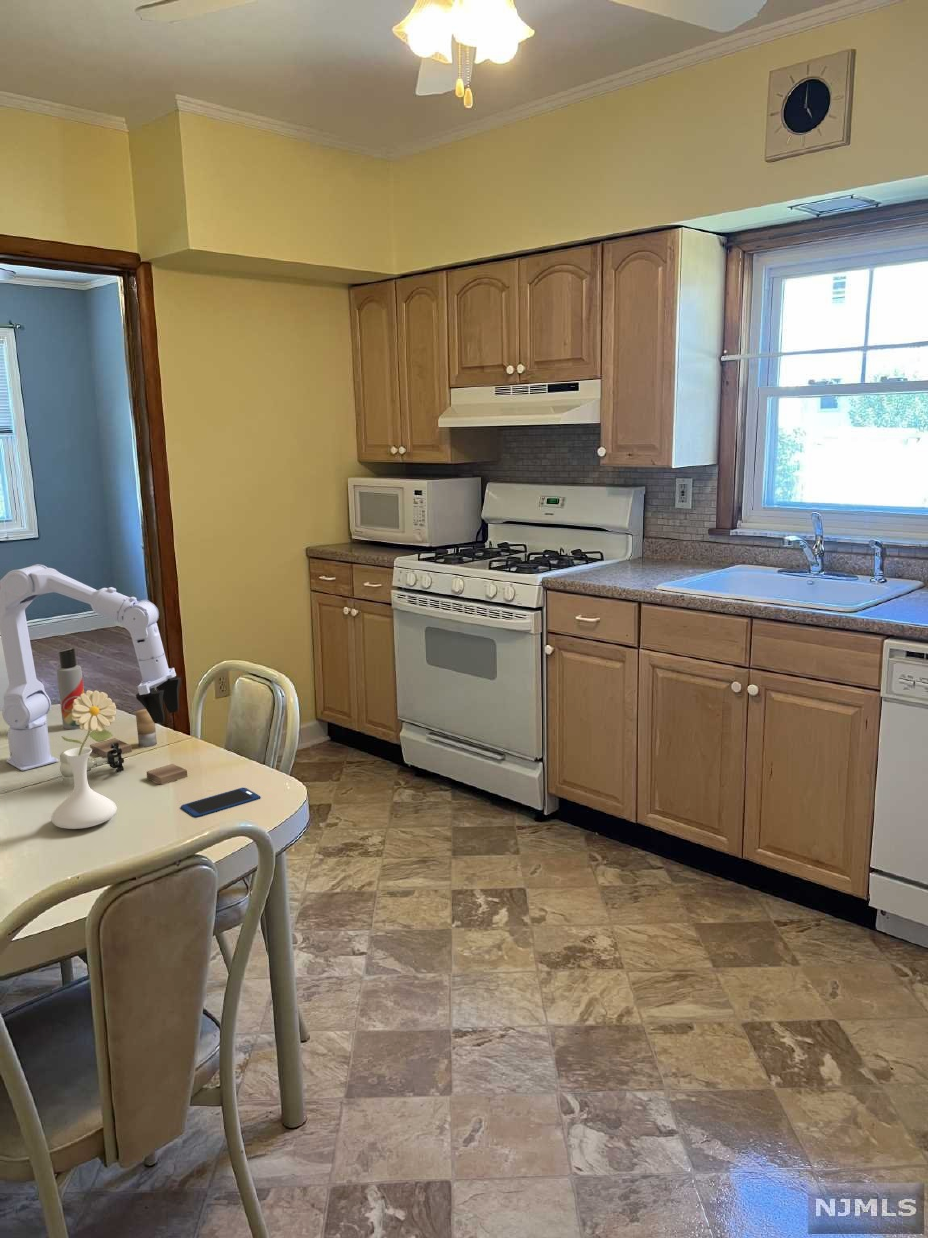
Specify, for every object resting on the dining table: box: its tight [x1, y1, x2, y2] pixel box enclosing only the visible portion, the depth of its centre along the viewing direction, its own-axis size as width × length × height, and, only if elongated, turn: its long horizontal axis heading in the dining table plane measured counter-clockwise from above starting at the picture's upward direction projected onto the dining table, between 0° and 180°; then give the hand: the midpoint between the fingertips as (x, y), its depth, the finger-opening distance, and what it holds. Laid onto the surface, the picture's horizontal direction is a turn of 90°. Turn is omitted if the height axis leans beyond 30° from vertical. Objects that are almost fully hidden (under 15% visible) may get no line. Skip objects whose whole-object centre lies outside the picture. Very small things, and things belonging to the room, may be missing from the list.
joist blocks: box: [89, 737, 188, 786], centre depth 203 cm, size 33×6×2 cm, turn 46°
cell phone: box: [180, 787, 261, 819], centre depth 179 cm, size 7×14×1 cm, turn 130°
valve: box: [59, 742, 125, 787], centre depth 194 cm, size 7×7×12 cm
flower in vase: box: [50, 689, 118, 830], centre depth 170 cm, size 13×11×25 cm
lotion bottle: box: [56, 647, 85, 730], centre depth 229 cm, size 6×6×20 cm
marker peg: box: [135, 708, 158, 748], centre depth 215 cm, size 4×4×8 cm
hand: (166, 717), depth 200 cm, fingers open, 7 cm apart
